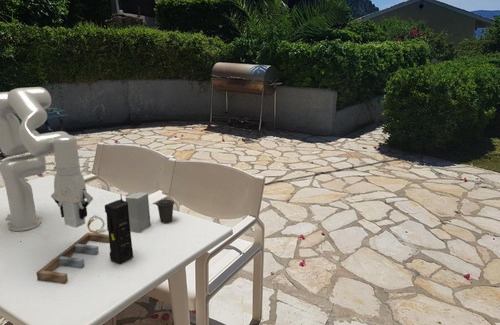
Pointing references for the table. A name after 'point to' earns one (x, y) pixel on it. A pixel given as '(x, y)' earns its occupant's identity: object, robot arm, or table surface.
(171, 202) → the coffee cup
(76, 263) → the slot rack
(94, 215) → the ring
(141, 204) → the skincare box
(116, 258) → the portable radio
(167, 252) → the table surface
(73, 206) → the skincare box
